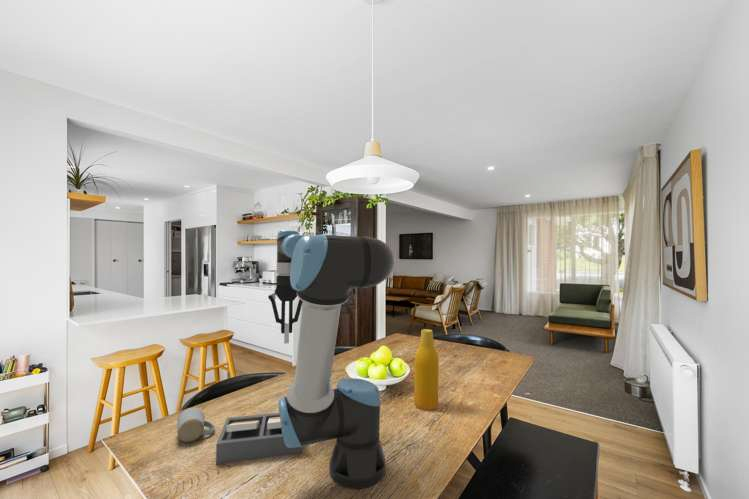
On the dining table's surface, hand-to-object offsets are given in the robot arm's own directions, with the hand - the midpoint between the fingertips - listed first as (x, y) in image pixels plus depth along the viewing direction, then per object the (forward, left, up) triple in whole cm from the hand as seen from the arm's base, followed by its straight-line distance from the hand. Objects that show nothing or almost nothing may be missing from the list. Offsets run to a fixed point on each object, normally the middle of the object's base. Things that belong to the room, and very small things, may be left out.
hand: (286, 342), depth 116 cm
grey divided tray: (-13, +6, -27) cm, 31 cm away
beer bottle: (+1, -53, -27) cm, 59 cm away
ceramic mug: (-4, +27, -27) cm, 39 cm away
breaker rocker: (-13, +12, -21) cm, 27 cm away
